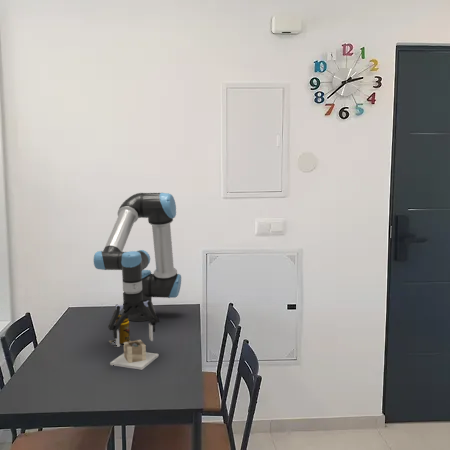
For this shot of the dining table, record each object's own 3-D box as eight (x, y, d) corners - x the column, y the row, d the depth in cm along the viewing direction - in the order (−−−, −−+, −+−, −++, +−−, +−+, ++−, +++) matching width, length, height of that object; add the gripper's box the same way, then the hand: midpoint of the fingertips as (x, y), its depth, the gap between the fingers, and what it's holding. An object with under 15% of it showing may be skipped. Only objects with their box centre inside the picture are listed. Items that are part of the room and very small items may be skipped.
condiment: (133, 342, 230) (132, 316, 228) (114, 346, 225) (113, 319, 223) (126, 337, 236) (125, 312, 234) (108, 341, 231) (107, 315, 229)
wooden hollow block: (124, 356, 211) (123, 342, 211) (141, 353, 214) (140, 339, 214) (128, 363, 205) (128, 347, 204) (146, 359, 208) (145, 344, 207)
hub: (128, 352, 219) (127, 335, 218) (158, 356, 214) (158, 339, 213) (110, 365, 206) (109, 347, 205) (142, 369, 201) (141, 352, 200)
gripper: (102, 298, 197) (105, 351, 201) (166, 289, 208) (167, 340, 211) (98, 292, 204) (101, 344, 208) (160, 284, 215) (161, 334, 218)
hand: (134, 342), depth 209 cm, fingers open, 13 cm apart
